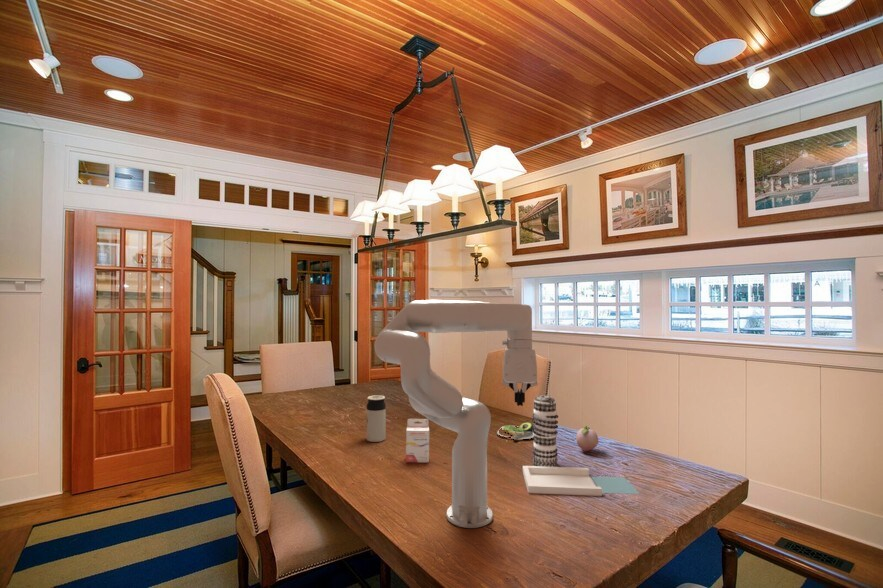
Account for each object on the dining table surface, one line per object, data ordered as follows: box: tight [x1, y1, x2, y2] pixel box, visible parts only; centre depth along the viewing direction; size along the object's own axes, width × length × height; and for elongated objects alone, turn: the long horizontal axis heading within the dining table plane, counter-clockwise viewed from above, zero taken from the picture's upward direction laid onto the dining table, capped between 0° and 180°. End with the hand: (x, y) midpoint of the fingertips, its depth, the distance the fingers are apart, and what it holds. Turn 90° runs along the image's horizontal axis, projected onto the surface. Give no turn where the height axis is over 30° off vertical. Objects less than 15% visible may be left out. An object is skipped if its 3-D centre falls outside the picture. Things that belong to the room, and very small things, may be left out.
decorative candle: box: [531, 394, 559, 467], centre depth 150 cm, size 9×9×25 cm
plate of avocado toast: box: [496, 421, 535, 441], centre depth 187 cm, size 19×18×5 cm
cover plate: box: [590, 476, 640, 495], centre depth 134 cm, size 12×11×2 cm
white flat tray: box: [522, 465, 603, 497], centre depth 135 cm, size 16×22×3 cm
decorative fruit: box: [575, 425, 599, 452], centre depth 167 cm, size 9×8×10 cm
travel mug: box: [366, 394, 387, 443], centre depth 181 cm, size 8×8×18 cm
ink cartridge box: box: [405, 418, 430, 463], centre depth 157 cm, size 9×5×15 cm, turn 92°
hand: (519, 404), depth 130 cm, fingers closed
